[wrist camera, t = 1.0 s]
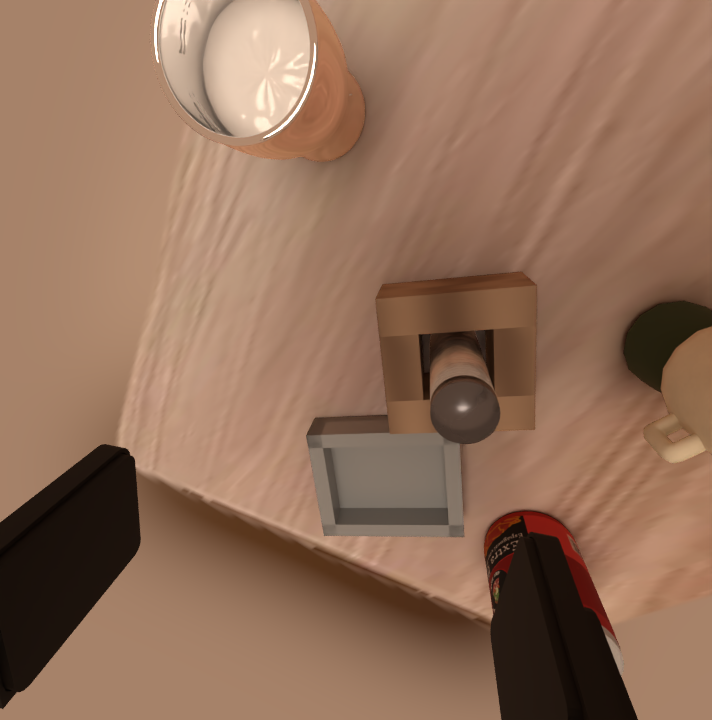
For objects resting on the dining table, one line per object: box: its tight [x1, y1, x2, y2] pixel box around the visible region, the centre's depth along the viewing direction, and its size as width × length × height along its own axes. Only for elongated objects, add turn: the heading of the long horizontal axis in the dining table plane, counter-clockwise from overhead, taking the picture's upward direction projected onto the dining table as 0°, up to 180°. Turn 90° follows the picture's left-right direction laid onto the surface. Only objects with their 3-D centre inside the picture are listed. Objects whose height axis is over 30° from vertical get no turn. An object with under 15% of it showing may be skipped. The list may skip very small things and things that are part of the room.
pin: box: [430, 331, 500, 444], centre depth 29 cm, size 4×4×12 cm
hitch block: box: [375, 272, 537, 434], centre depth 32 cm, size 10×10×5 cm
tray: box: [306, 415, 464, 537], centre depth 38 cm, size 12×10×3 cm
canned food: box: [484, 511, 624, 675], centre depth 35 cm, size 8×8×11 cm
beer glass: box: [150, 0, 365, 162], centre depth 24 cm, size 7×7×15 cm
